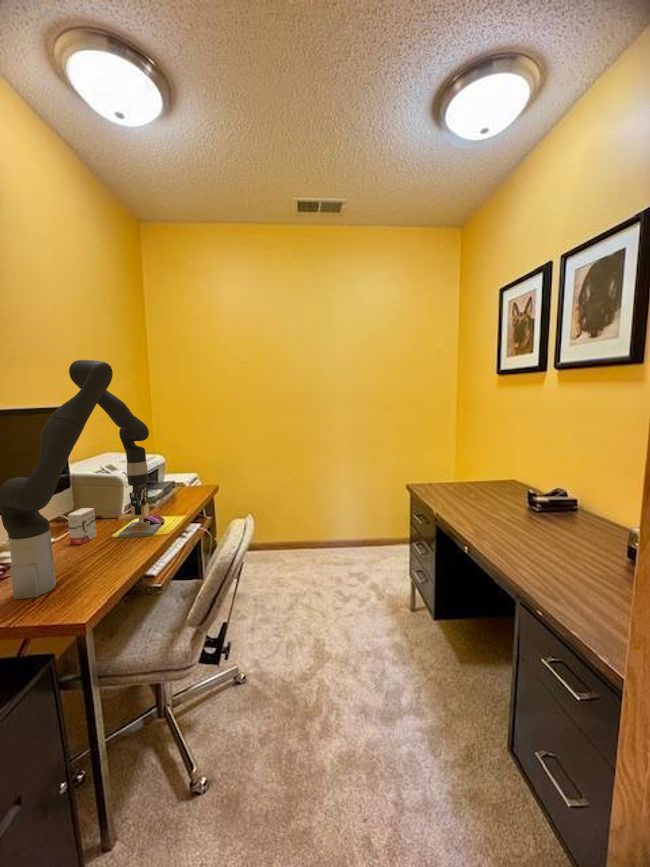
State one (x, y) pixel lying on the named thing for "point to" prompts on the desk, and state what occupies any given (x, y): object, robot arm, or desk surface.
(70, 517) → the ink box
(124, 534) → the hinge base
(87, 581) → the desk surface
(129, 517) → the beige flanged block
